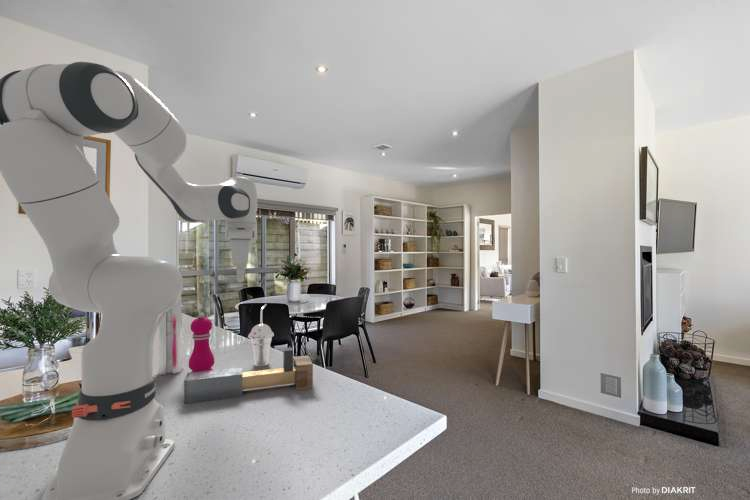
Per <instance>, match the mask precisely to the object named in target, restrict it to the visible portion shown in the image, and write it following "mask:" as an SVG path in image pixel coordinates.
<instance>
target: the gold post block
mask: <svg viewBox="0 0 750 500" xmlns="http://www.w3.org/2000/svg"><path fill="white" fill-rule="evenodd" d="M282 351H283V352H282V357H283V358H282V367H279V368H270V369H269V368H268V369H263V370H253V371H242V391H245V390H246V391H247V390H253V389H261V388H268V387H276V386H277V387H278V386H283V385H291V384H295V383H296V368H295V367H293V357H294V349H293V346H290V347H288V346H287V347H283V348H282Z"/></svg>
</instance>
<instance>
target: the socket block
mask: <svg viewBox="0 0 750 500" xmlns="http://www.w3.org/2000/svg"><path fill="white" fill-rule="evenodd" d="M293 367H295V368H296V383H294V385H295V389H296V391H300V390H301V391H302V390H308V388H309V389H313V388H314V381H313V380H314V379H313V377H314V373H313V371H314V368H313V367H314V364H313V362H312V360H311V358H310V356H309V355H301V356H293Z"/></svg>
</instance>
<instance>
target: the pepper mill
mask: <svg viewBox="0 0 750 500" xmlns="http://www.w3.org/2000/svg"><path fill="white" fill-rule="evenodd" d="M197 316H198V317H197V318H195V319H194V320H192V322H191V323H190V331H191V332H192V333H193V334H192V339H193V340H194V341H193V342H194V344H193V350H192V351H191V354H190V356H189V360H188V368H189V369H190V370H191V372H200V371H209V370H214V369H213V366H214V365H215V357H214V354H213V352H212V349H211V347H210V338H211V332H210V331H211V330H212V328H213V322H212V320H211V319H210V318H208V317H205V313H204V312H199V313H198V315H197Z"/></svg>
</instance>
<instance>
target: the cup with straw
mask: <svg viewBox="0 0 750 500" xmlns="http://www.w3.org/2000/svg"><path fill="white" fill-rule="evenodd" d="M267 305H268V304H267V303H264V305H263V306H262V307H261V308H260V314H259V315H260V317H259V318H260V319H259V320H260V321H259V322H260V323H258V324H256V325H254V326H253V327H252V328H251V331H250V333H249V334H248V335H247V338H248V339H250V343H251V344H250V345H251V348H252V355H253V356H252V357H253V364H254V367H264V366H267V365H268V364H269V359H270V350H271V343H272V338H273V337H274V336H275V334H274V332H273V331H272V328H271V327H270V325H269V324H267V323H263V312H264V311H263V310H264V309H265V308H266V306H267Z"/></svg>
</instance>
